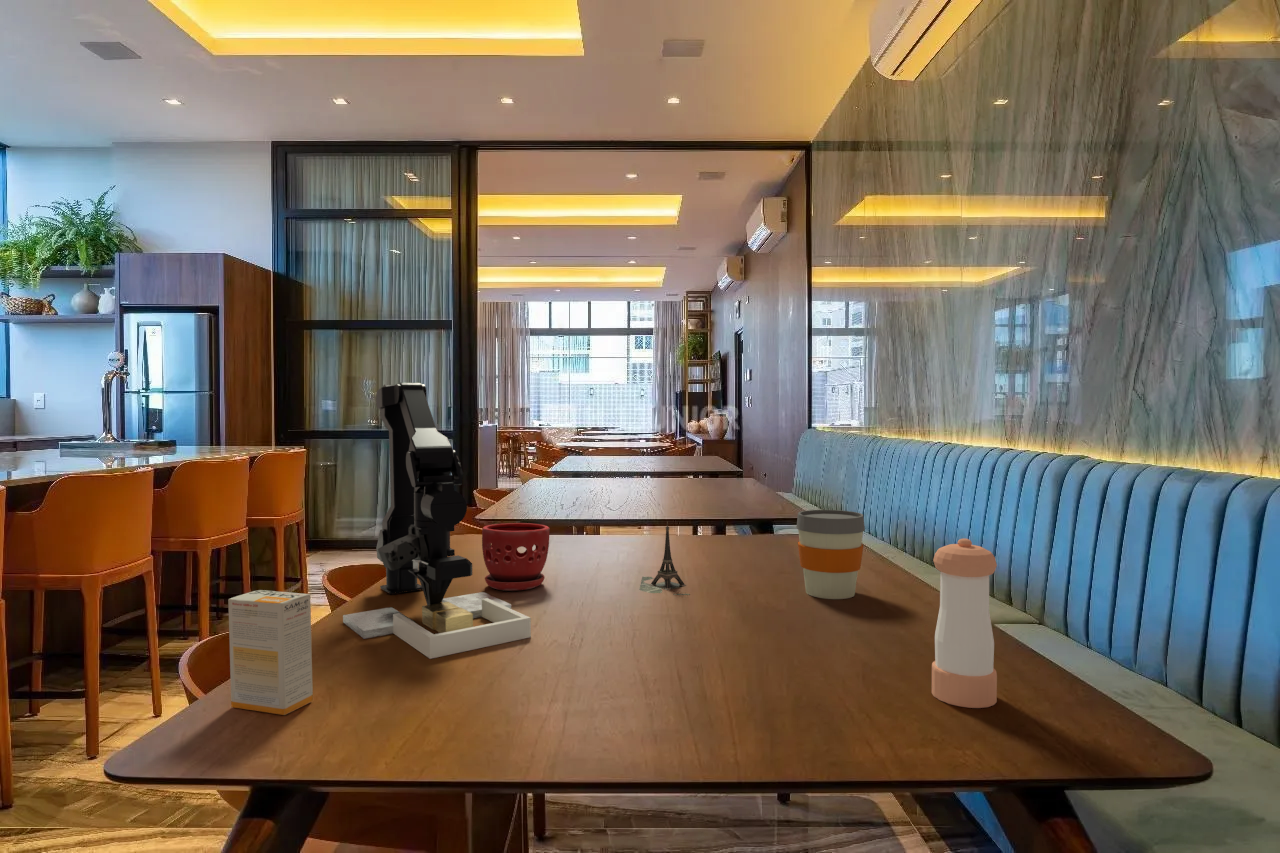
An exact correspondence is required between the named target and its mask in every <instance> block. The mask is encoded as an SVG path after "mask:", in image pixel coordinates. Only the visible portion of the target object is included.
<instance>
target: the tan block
mask: <svg viewBox="0 0 1280 853" xmlns="http://www.w3.org/2000/svg"><path fill="white" fill-rule="evenodd" d="M456 608H459V607H458V606H456V605H454V604H452V603H450V602H443V603H442V602H441V603H438V604H432V605H427V604H426V605H422V606H421V615H422V616H421V621H422V622H421V624H423V625H425V626H426V627H428V628H429V629H431V630H435V613H434V612H439V611H445V610H450V609H456Z"/></svg>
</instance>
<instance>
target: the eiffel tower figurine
mask: <svg viewBox="0 0 1280 853" xmlns="http://www.w3.org/2000/svg"><path fill="white" fill-rule="evenodd" d="M666 523H667V524H666V527H665V543H664V551H663V552H664V553H663V558H662V563H661V567H660V568H659V570H658V571H657V574H656V575H655V577H652V576H642V577H641V581H640V584H639V590H640V591H641V592H646V593H650V594H661V593H662V594H663V590H666V591H670V590H674V589H678V588H683V587H686V586H687V585H686V584H685V583H684V581H683V580H682V579H681V576H679V573H678V570H676V568H675V566H674V562H673V559H672V552H671V543H670V541H671V540H670V526H668V521H667V522H666ZM661 578H662V579H663V580H664V581H662V582H658V581H659V580H660V579H661ZM672 579H675V580H676V581H677V582H673V581H671V580H672ZM649 580H652V581H651V583H647V582H646V581H649ZM677 595H681V596H682V595H683V596H684V595H687V596H689V595H690V593H676V594H675V593H673V595H672V596H677Z"/></svg>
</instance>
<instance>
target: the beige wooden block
mask: <svg viewBox="0 0 1280 853" xmlns="http://www.w3.org/2000/svg"><path fill="white" fill-rule="evenodd" d="M434 613H435V629H434V630H435V631H436V632H438V633H444V632H449V631H455V630H460V629H465V628H470V627H474V618H473V613H471V612H469V611H467V610H465V609H463V608H456V609H450V610H445V611H439V612H434Z"/></svg>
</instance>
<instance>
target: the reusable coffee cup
mask: <svg viewBox="0 0 1280 853" xmlns="http://www.w3.org/2000/svg"><path fill="white" fill-rule="evenodd" d="M796 520H797V521H796V525H795V526H796V527H795V528H796V529H797V531H798V538H799V541H798V542H797V548H798V556H799V557H798V558H799V563H800V567H801V568H802V569H803V570H802V572H803V578H804V579H803V580H804V587H805V593H806V594H807V595H808V596H812V597H815V598H817V599H818V598H819V599H826V600H843V599H844V600H846V599H851V598H852V597H855V595H856V587H857V579H858V572H859V571H860V570H861V567H862V560H863V559H862V558H863V551H864V544H863V543H862V541H863V535H864V531H866V528H865V518H864V514H862V513H860V512H857V511H849V510H840V509H809V510H807V509H806V510H801V511H799V512H797V519H796Z"/></svg>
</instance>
